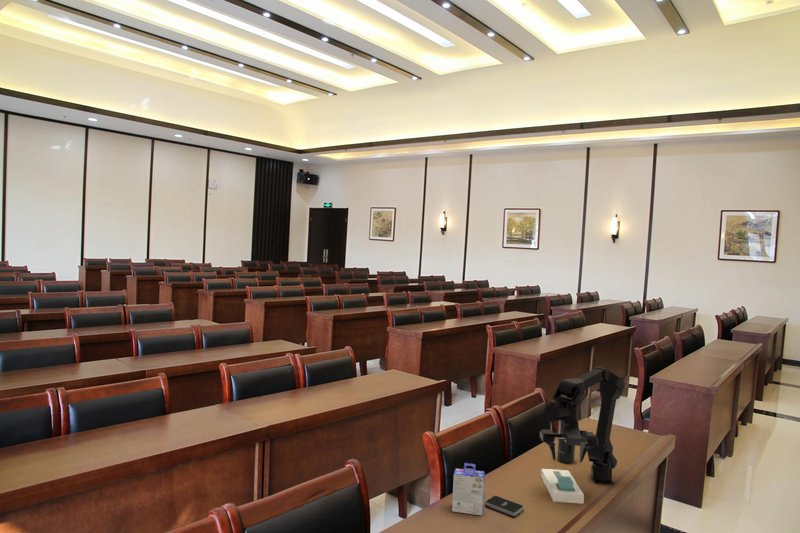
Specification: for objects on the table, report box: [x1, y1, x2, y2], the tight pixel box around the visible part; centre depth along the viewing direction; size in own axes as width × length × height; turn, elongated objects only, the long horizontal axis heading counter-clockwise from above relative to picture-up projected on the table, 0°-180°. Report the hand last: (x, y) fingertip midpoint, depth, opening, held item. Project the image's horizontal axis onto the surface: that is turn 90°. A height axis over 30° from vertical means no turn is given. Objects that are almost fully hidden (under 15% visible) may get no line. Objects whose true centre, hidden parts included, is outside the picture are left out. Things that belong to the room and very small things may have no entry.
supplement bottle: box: [556, 439, 576, 465], centre depth 209 cm, size 7×7×12 cm
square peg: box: [557, 476, 573, 491], centre depth 177 cm, size 4×4×6 cm
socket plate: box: [540, 468, 585, 505], centre depth 182 cm, size 10×20×3 cm, turn 176°
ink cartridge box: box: [451, 462, 486, 516], centre depth 164 cm, size 10×6×14 cm, turn 78°
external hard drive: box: [484, 494, 525, 519], centre depth 166 cm, size 7×11×2 cm, turn 50°
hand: (567, 461), depth 179 cm, fingers open, 9 cm apart
